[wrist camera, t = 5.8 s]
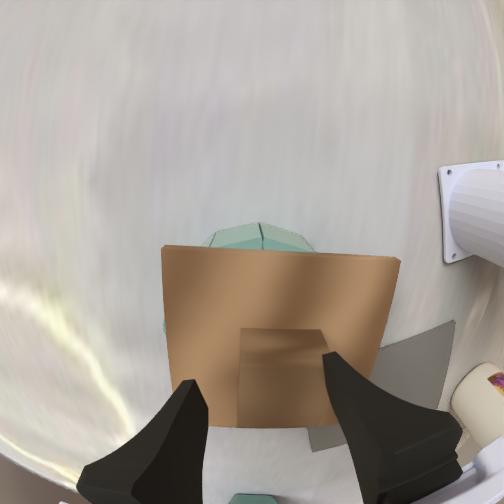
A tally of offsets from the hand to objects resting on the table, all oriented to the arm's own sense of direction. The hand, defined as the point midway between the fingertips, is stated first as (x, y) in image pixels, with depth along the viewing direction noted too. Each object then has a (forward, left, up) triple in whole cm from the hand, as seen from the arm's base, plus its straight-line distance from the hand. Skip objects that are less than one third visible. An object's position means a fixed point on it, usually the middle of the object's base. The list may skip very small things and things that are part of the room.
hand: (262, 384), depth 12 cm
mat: (-10, +14, -9) cm, 20 cm away
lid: (-1, +2, -5) cm, 5 cm away
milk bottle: (-24, +20, -9) cm, 33 cm away
